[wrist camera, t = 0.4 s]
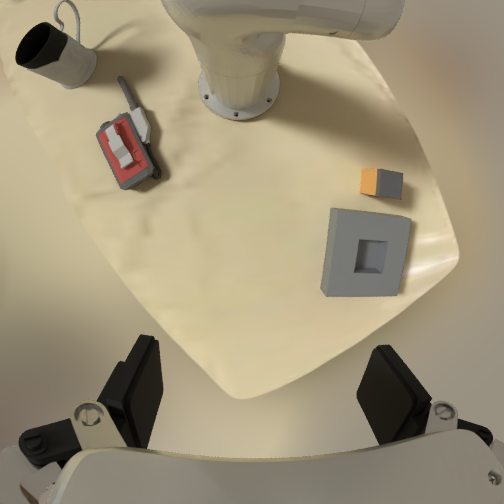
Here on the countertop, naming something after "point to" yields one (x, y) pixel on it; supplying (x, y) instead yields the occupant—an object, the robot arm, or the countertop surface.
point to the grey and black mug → (57, 53)
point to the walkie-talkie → (128, 145)
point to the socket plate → (364, 253)
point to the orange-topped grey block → (381, 183)
